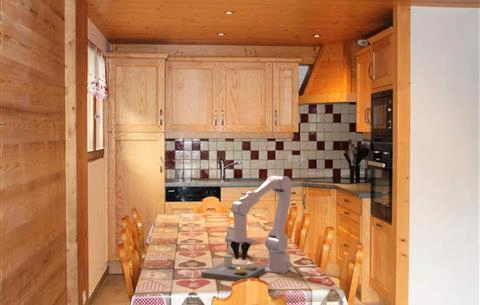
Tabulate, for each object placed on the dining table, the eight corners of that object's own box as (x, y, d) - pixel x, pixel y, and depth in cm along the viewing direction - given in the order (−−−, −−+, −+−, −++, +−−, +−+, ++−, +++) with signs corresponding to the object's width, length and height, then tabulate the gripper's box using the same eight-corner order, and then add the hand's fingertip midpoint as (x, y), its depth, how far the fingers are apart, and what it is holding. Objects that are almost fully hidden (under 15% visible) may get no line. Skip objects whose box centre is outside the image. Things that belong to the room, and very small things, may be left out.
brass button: (246, 273, 247) (246, 267, 246) (242, 275, 243) (242, 269, 243) (238, 272, 248) (238, 266, 248) (234, 274, 245) (234, 268, 245)
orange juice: (247, 239, 333) (247, 206, 332) (239, 242, 326) (238, 208, 325) (237, 238, 337) (236, 205, 337) (228, 240, 330) (228, 207, 330)
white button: (256, 268, 255) (256, 262, 255) (252, 270, 252) (252, 264, 252) (248, 267, 257) (248, 261, 257) (244, 269, 254) (244, 263, 254)
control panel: (265, 271, 257) (265, 267, 257) (245, 282, 239) (245, 277, 239) (223, 266, 267) (223, 262, 267) (201, 276, 249) (201, 272, 249)
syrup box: (233, 251, 301) (233, 224, 300) (242, 252, 297) (241, 225, 296) (226, 253, 296) (226, 226, 296) (235, 254, 293) (234, 227, 292)
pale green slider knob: (232, 266, 259) (232, 256, 259) (230, 267, 257) (230, 257, 257) (226, 265, 260) (225, 255, 260) (224, 266, 259) (223, 256, 258)
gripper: (221, 228, 245) (221, 259, 245) (251, 231, 238) (251, 262, 239) (228, 226, 251) (229, 256, 251) (258, 228, 244) (258, 259, 245)
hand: (240, 259), depth 245 cm, fingers open, 3 cm apart
